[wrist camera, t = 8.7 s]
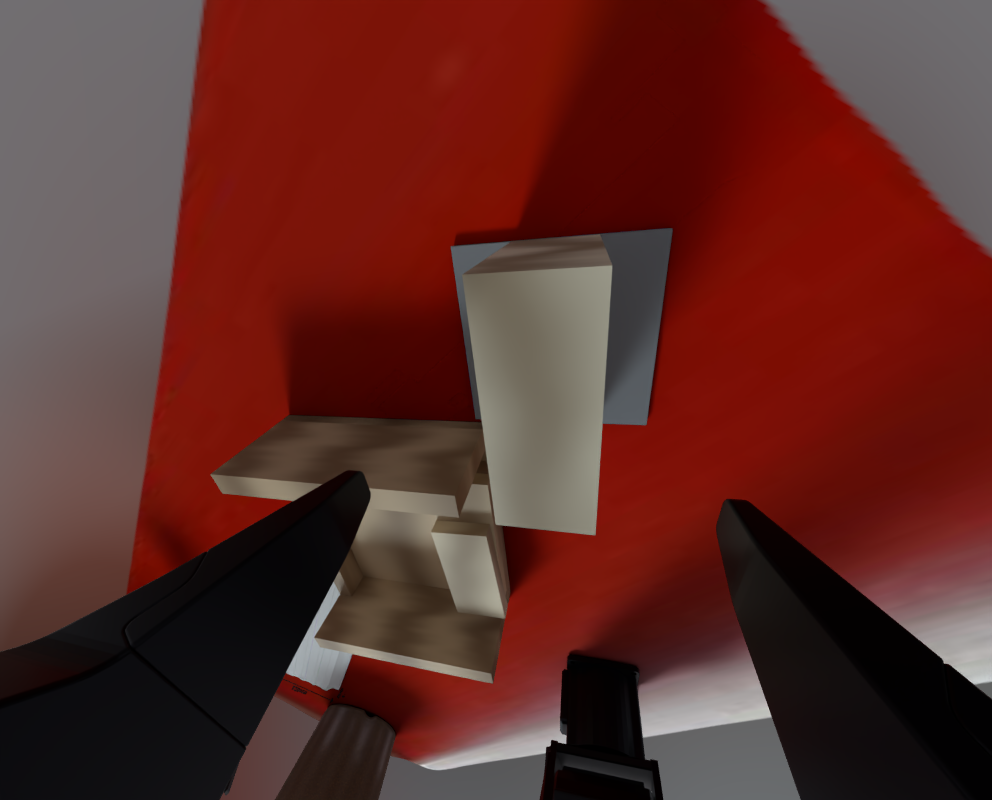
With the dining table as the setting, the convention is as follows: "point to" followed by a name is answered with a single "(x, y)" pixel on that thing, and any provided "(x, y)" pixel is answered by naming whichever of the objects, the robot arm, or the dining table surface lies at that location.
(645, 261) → the felt pad
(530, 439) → the beige wooden block
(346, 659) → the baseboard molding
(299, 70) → the dining table surface
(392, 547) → the rack
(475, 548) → the offcut stack
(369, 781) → the plant pot
